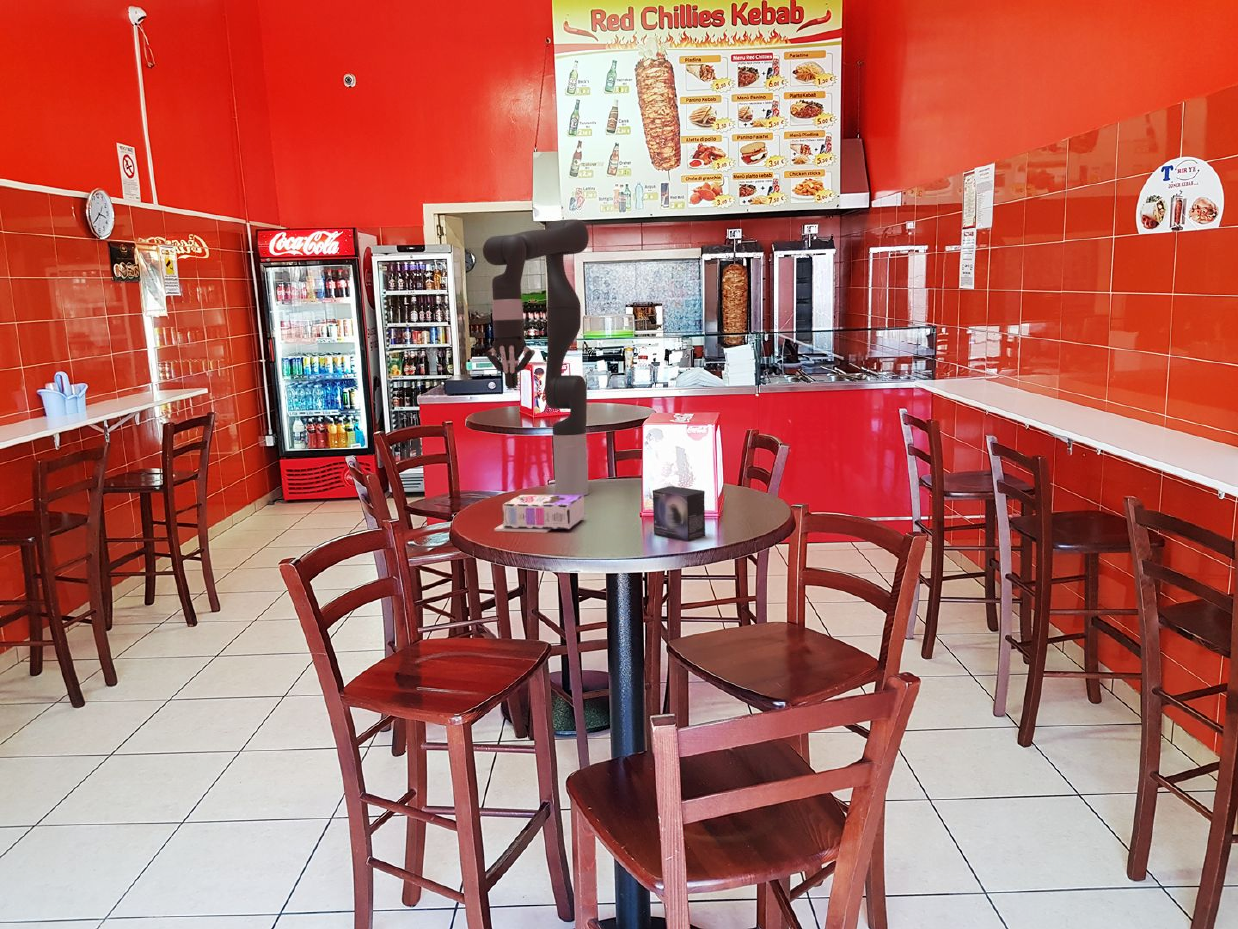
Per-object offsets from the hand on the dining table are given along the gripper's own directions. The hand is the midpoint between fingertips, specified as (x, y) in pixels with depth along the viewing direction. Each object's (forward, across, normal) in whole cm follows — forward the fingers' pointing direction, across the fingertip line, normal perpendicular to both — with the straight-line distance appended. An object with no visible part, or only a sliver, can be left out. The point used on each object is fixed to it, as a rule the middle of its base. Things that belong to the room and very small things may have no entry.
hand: (511, 388), depth 240 cm
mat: (+32, -8, +12) cm, 35 cm away
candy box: (+28, -20, +12) cm, 37 cm away
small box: (+32, -46, +19) cm, 59 cm away
